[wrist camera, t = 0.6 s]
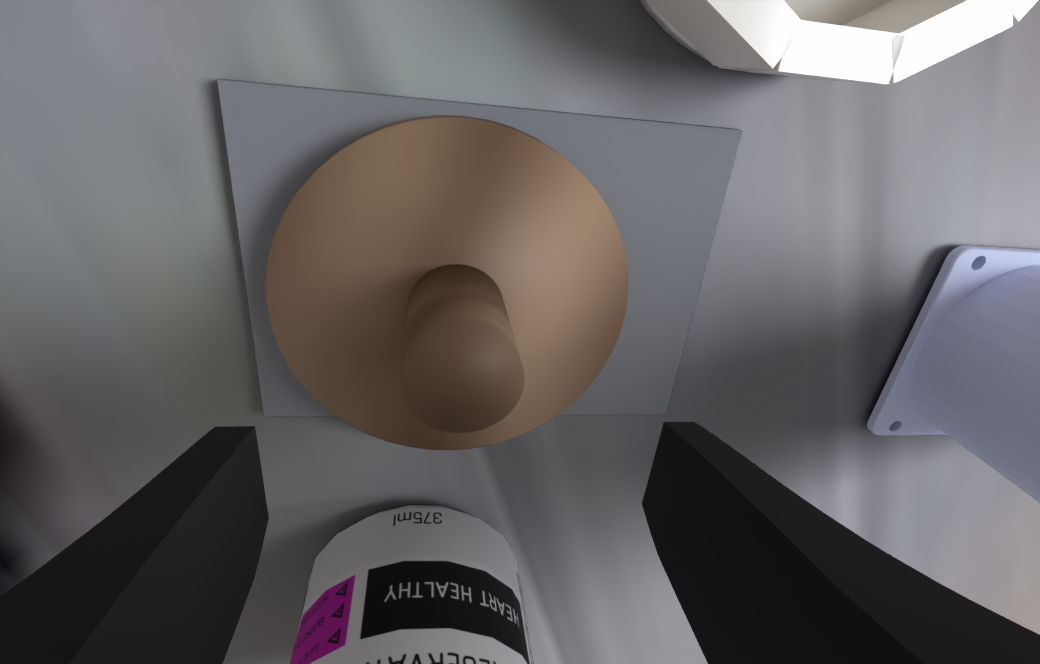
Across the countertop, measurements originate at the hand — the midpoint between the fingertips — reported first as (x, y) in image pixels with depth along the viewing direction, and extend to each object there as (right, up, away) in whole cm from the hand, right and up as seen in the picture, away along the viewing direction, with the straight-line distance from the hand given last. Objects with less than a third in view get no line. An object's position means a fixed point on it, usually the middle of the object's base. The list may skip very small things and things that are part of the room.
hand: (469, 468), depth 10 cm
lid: (-1, +4, +7) cm, 8 cm away
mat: (0, +4, +7) cm, 8 cm away
